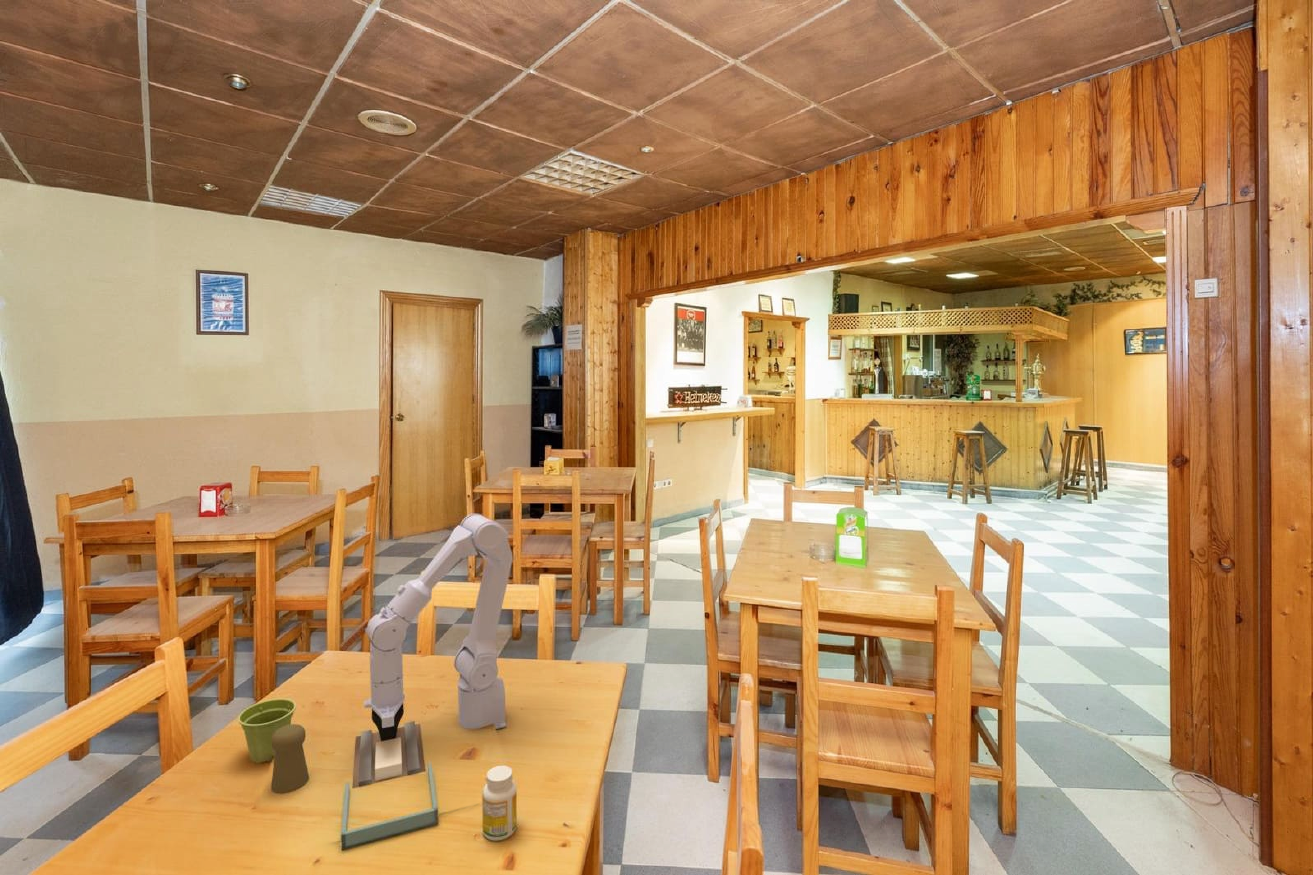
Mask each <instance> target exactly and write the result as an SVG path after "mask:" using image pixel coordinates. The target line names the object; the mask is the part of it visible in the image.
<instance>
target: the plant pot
mask: <svg viewBox="0 0 1313 875" xmlns="http://www.w3.org/2000/svg"><path fill="white" fill-rule="evenodd" d="M296 709H297V703H296V701H294V700H292V699H289V698H274V699H272V698H271V699H268V700H263V701H260V702H258V703H255V704H253V705H251V706H249V707H247V708H245V709H244V710H243V711H241V713H240V714H239V715H238V717H237V721H238V722H237V723H239V724H240V725H241V728H242V730H243V731H244V735H245V740H246V745H247V750H248V755H249V760H250V761H251V762H253V763H257V764H261V763H262V762H272V761H273V757H275V750H273V748H272V746H271V738H272V736H273V734H274V733H275V731H277V730H278V729H279V728H281V727H283V726H286V725H290V724H292V718H293V717H294V712H295V710H296Z"/></svg>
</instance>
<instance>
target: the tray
mask: <svg viewBox="0 0 1313 875" xmlns="http://www.w3.org/2000/svg"><path fill="white" fill-rule="evenodd" d="M427 773H428V781H429V783H428V784H429V791H430V796H431V797H430V799H431V804H432V805H431V807H432V808H429V809H426V810H422V811H418V812H415V813H411V814H407V815H404V816H400V817H395V818H391V819H387V820H384V821H379V822H376V823H373V824H369V825H364V826H361V827H357V828H354V829H349V830H347V829H348V820H349V819H348V817H349V806H350V805H349V803H350V791H351V790H350V781H348V782H345V784H344V796H343V809H342V820H341V821H342V822H341V829H340V831H341V832H340V840H341V841H340V842H341V843H340V845H341V851H344V850H345V851H346V850H348V849H351V848H355V847H359V846H363V845H367V844H370V843H373V842H377V841H382V840H385V839H388V838H392V837H396V836H399V835H403V834H407V833H410V832H414V831H418V830H422V829H426V828H429V827H432V826H436V825H439V815H438V814H439V808H438V801H437V796H436V793H437V792H436V787H435V786H436V785H435V780H434V772H433V764H432V762H429V763H427Z"/></svg>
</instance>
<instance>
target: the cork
mask: <svg viewBox="0 0 1313 875" xmlns="http://www.w3.org/2000/svg"><path fill="white" fill-rule="evenodd" d="M306 737H307V735H306V730H305V728H304V727H303V726H302V725H301V724H298V723H297V724H296V723H291V724H290V725H286V726H283V727H281V728H279V729H278V730H277V731H275V733H274V734H273V736H272V738H271V746H272V748H273V750H275V756H274V760H273V769H272V778H271V784H270V785H271V786H270V787H271V788H270V789H271V790H270V791H272V792H273V793H275V794H281V795H283V794H288V793H291V792H295V791H297V790H299V789H301V788H302V787H304V786H305V785H307V783H308V782H309V780H310V775H309V770H308V765H307V761H306V755H305V750H304V745H303V744H304V743H305V740H306Z"/></svg>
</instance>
